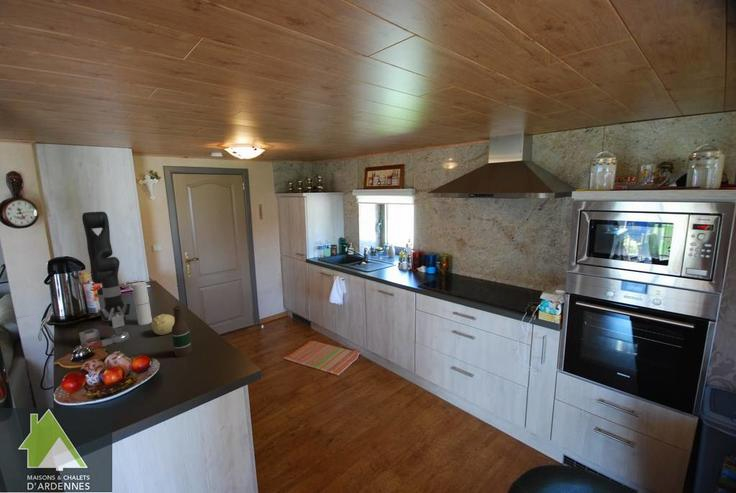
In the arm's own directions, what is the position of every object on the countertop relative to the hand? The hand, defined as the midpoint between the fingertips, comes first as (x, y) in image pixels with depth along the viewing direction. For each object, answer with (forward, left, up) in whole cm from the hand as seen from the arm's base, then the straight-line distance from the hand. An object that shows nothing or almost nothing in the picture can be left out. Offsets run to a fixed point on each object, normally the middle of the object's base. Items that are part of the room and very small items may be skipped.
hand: (117, 324), depth 179 cm
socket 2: (0, 0, -1) cm, 1 cm away
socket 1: (-8, -11, -9) cm, 16 cm away
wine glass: (0, -7, -9) cm, 11 cm away
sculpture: (+10, +19, -9) cm, 23 cm away
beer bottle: (+45, +15, -9) cm, 48 cm away
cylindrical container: (-17, +17, -9) cm, 26 cm away
